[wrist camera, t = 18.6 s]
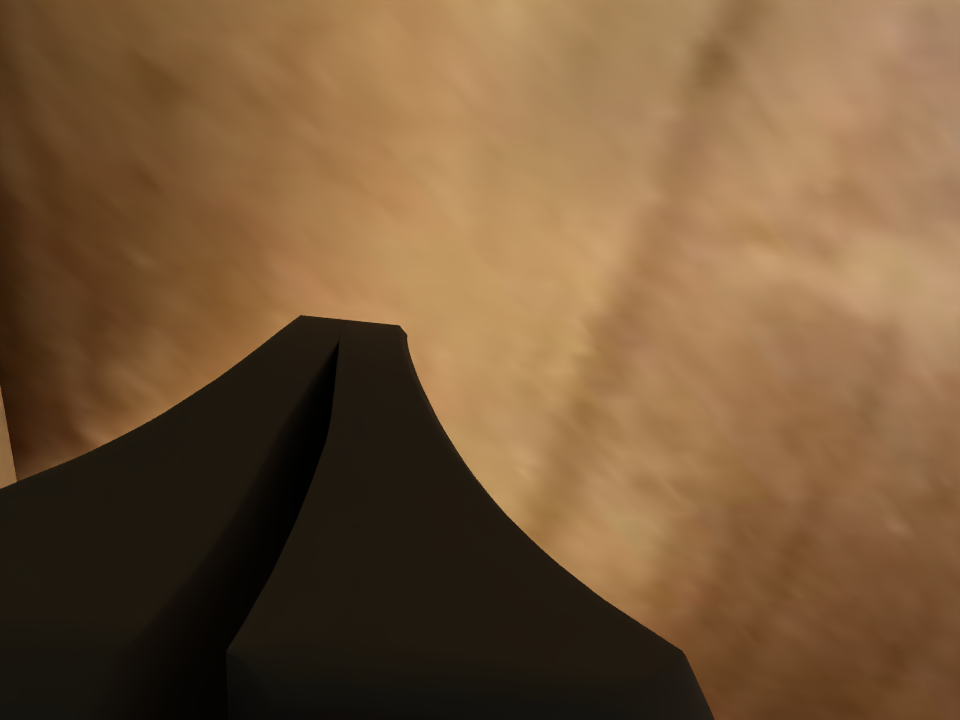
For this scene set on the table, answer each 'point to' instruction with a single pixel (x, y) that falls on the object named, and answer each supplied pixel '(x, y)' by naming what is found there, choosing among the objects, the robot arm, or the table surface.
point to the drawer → (5, 451)
